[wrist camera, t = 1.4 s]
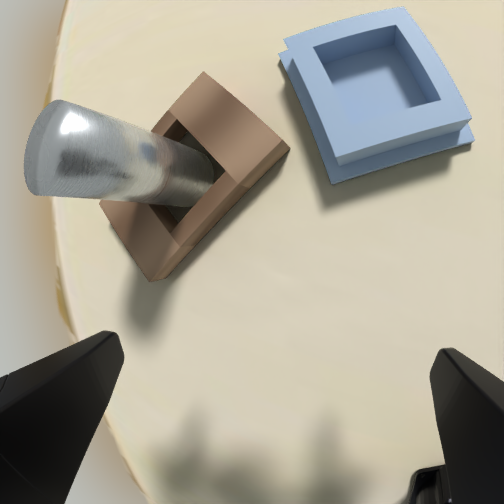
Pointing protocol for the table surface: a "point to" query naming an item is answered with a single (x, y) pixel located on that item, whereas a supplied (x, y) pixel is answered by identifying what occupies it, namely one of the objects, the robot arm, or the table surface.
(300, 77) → the tray
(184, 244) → the holder
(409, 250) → the table surface
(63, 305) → the table surface
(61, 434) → the robot arm
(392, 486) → the table surface
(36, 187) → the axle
